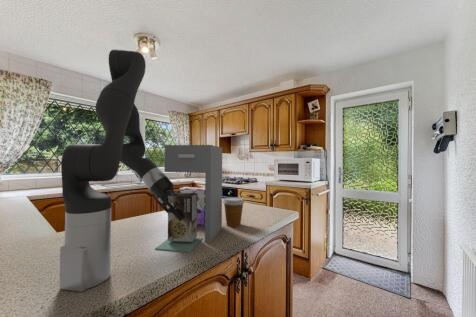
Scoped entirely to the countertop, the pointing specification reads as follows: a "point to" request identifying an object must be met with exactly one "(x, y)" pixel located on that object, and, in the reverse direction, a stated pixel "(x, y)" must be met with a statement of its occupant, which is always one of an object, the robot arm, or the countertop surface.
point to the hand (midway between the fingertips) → (187, 216)
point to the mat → (178, 245)
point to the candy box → (200, 202)
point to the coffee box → (188, 225)
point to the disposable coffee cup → (233, 211)
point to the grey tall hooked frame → (210, 164)
